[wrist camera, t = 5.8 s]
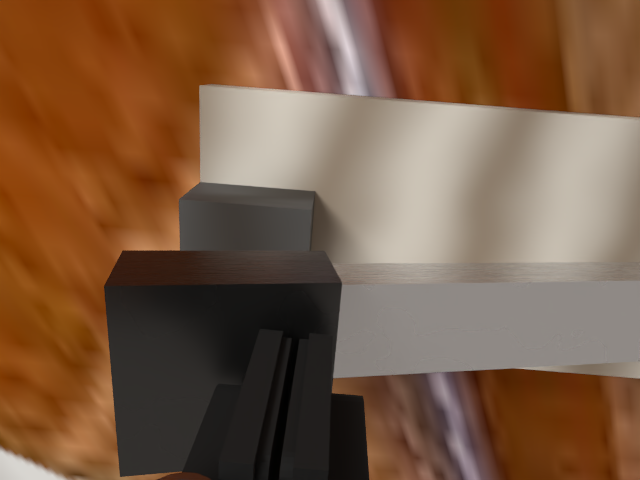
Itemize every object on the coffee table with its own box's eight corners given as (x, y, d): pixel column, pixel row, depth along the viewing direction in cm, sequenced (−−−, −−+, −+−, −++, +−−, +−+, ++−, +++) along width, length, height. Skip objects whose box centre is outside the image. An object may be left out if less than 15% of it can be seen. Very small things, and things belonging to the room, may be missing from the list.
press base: (798, 129, 21) (1032, 159, 14) (705, 362, 25) (852, 478, 18) (211, 84, 21) (148, 91, 14) (212, 322, 25) (162, 420, 18)
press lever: (774, 235, 17) (900, 274, 14) (726, 354, 19) (828, 413, 16) (133, 230, 13) (104, 286, 10) (142, 385, 15) (120, 476, 11)
